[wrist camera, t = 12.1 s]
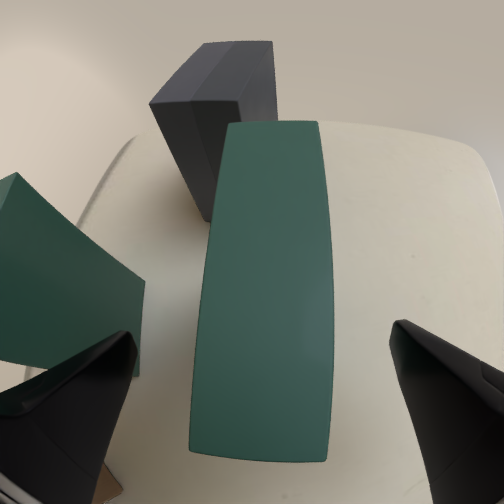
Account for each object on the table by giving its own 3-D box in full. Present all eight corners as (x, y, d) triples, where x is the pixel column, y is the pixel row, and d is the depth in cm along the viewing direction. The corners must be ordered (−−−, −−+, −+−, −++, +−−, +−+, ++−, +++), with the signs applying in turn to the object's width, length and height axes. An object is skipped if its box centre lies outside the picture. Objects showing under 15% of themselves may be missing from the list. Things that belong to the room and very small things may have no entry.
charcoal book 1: (231, 226, 20) (189, 100, 10) (204, 221, 20) (147, 103, 11) (255, 156, 23) (237, 40, 13) (231, 154, 23) (203, 42, 13)
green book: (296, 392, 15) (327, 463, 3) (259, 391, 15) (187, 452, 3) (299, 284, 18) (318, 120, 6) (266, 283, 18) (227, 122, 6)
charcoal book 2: (260, 230, 20) (237, 100, 10) (231, 225, 20) (188, 100, 10) (280, 159, 22) (272, 40, 12) (254, 156, 23) (236, 40, 13)
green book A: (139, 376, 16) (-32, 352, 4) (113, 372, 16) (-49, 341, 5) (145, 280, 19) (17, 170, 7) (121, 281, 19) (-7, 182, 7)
